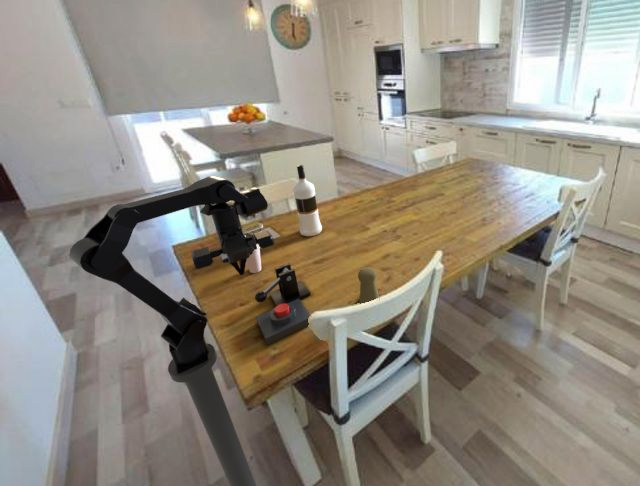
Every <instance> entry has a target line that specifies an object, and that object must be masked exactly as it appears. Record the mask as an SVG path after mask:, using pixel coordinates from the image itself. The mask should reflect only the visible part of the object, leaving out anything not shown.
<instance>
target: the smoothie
mask: <svg viewBox="0 0 640 486" xmlns="http://www.w3.org/2000/svg"><path fill="white" fill-rule="evenodd" d="M244 236H245V237H246V235H244ZM260 249H261V247H259V244H257V249H255V250H254V251H253V254H252V255H250V257H249V258H247V260H246V267H247V268H248V271H249V273H250V274H256V273H259V272H260V271H262V261H261V260H262V259H261V250H260Z"/></svg>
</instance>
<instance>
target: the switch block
mask: <svg viewBox="0 0 640 486" xmlns="http://www.w3.org/2000/svg"><path fill="white" fill-rule="evenodd" d="M287 304H288V306H289V310H290V312H289V314H288V315H286V316H284V317H277V316H276V314H275V307H274V308H273V309H271V310H268V311H266V312H264V313H262V314H258V315H257V316H255V318H256V323H257V325H258V327H259V329H260V332H261V335H262V336H263V338H264V340H265V341H264V342H265V343H266V345H271V344H272V343H275V342H276V341H279V340H280V339H282V338H284V337H287V336H289V335H291V334H293V333H296V332H297V331H299V330H301V329H304V328H306V327H307V326H310V325H309V323H308V318H309V316H311V314H310V313H309V311H308V309H307V307H305V305H304V304H303V302H302V300H300V299H297V300H294V301H292V302H290V303H287Z"/></svg>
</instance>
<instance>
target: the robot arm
mask: <svg viewBox="0 0 640 486" xmlns="http://www.w3.org/2000/svg"><path fill="white" fill-rule="evenodd" d="M197 206H203V207H202V208H201V209H200V211H199V213H200V214H202V215H205V216H207V217H209V216H211V218H212V222H213V225H214V228H215V231H216V235H217V238H218V240H219V244H220V247H219V248H215V249H211V250H210V248H209V246H205V247H202V248H198V249H195V250H192V252H191V253H190V254H191V258H192V262H193V265H194V268H195V270H201V269H203V268H207V267H210V266H211V265H212V264H213V263H214V258H218V257H219V258H220V260H221V262H222V264H230V266H232V267H233V268H234V269H235V270H236V272H237V273H238V274H239V275H240V276H244V275H245V271H246V266H247V264H246V260H247V258H249V257H250V255H252V254H253V251H254V250H255V249H257V244H259V247H260V249H266V248H269V247H272V246H274V245H275V238H274V239H273V237H272V235H271V234H270V233H269V231H267V230H264V231H260V232H257V233H253V236H252V237H249V238H248V237H245V236H244V234H243V230H242V229H243V226H242V222H241V219H240V216H242V217H243V218H245V219H247V218H249V217H252V216H254V215H256V214H259V213H262V212H264V211H267V210H268V207H269V206H268V200H267V199H266V197H265V196H264V194H263V193H262V192H261V189H260V188H257V187H252V188H250V189H248V190H246V191H242V192H240V191H239V190H237V188H236V186H235V184H234V183H233V182H232V181H231V180H229V179H225V178H222V177H218V176H215V175H211V176H210V175H209V176H206V177H204V178H201V179H198V180H196V181H194V182H193V183H192V184H190V185H189V186H187V187H184V188H182V189H181V188H180V189H178V190H173V191H169V192H166V193H162V194H159V195H154V196H151V197H147V198H146V197H145V198H143V199H138V200H135V201H131V202H127V203H119V204H115V205H112V206H111V207H110V208H109V209H108V210H107V212H106V213H105V214H104V216H103V217H102V218H101V219H100V220H98V221H97V222H96V223H95V224H94V225H92V227H90V229H89V230H88V231H87V232H86V233H85V235H84V237H83V238H80V239H79V240H78V241H76V242H75V243H73V244H72V246H71V248H70V250H69V253H68V255H69V258H70V259H71V260H72V262H74V263H75V264H76V265H77V266H79V267H80V269H82V270H83V271H85V272H86V273H88V274H90V275H93V276H95V277H98V278H99V279H102V280H105V281H108V282H111V283H114V284H116V285H118V286H119V287H121V288H123V289H124V290H126V291H127V292H128V293H130V294H131V295H133V296H134V297H136V298H137V299H138V300H140V301H141V302H143V303H144V304H145V305H146V306H149V307H150V308H151V309H153V310H154V311H156V312H157V313H159V314H160V316H161V318H162V319H163V321H165V323H166V326H165V327H164V329H163V331H162V333H161V334H160V338H162V339H163V340H164V341H165V342H167V344H168V349H169V353H170V355H171V359H173V360H174V362H175V365H176V370H177V374H179V373H182V372H184V371H186V370H188V369H190V368H192V367H195V366H197V365H199V364H201V363H203V362H205V361H207V360H208V355H207V353H209V350H208V346H207V343H208V342H207V341H206V339H205V329H206V326H207V323H208V318H207V317H206V315H207V312H205V310H202V309H200V308H199V307H198V306H197V305H196V304H195V303H193V302H191V301H190V300H189V299H187V298H185V297H182V298H181V299H180V300H179V301H177V300H175V299H173V298H172V297H171V296H169V295H168V294H167V293H166V292H164V291H163V290H162V289H160V288H159V287H157V286H156V285H155V284H153V283H152V282H151V281H150V280H149V279H147V278H146V277H145V276H144V275H142V274H141V273H140V272H138V271H137V270H136V269H134V267H133V265H132V264H131V262H130V260H129V259H128V258H127V257H126V256H125V254H124V253H123V252H124V251H125V249H126V248H127V247H128V245H129V243H130V240H131V237H132V234H133V231H134V229H135V228H136V227H137V225H138V224H140V223H143V222H147V221H150V220H153V219H156V218H160V217H163V216H166V215H169V214H173V213H177V212H180V211H183V210H187V209H189V208H192V207H197Z"/></svg>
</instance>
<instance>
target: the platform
mask: <svg viewBox="0 0 640 486" xmlns="http://www.w3.org/2000/svg"><path fill="white" fill-rule="evenodd" d="M242 230H243V234H244V235H246V237H248V238H249V237H252V236H253V233H257V232H260V231H264V230H267V231H269V233H270V234H271V235H272V237H273V239H274V240H275V239H277V238H280V237H281V235H280V234H279V233H278V232H276V231H275V230H274V229H272V227H269V226H268V227H265V228H264V224H263V222H260V223H259V222H258V221H255V222H253V223H252V222H251V223H250V224H246V225H244V226H242Z"/></svg>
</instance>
